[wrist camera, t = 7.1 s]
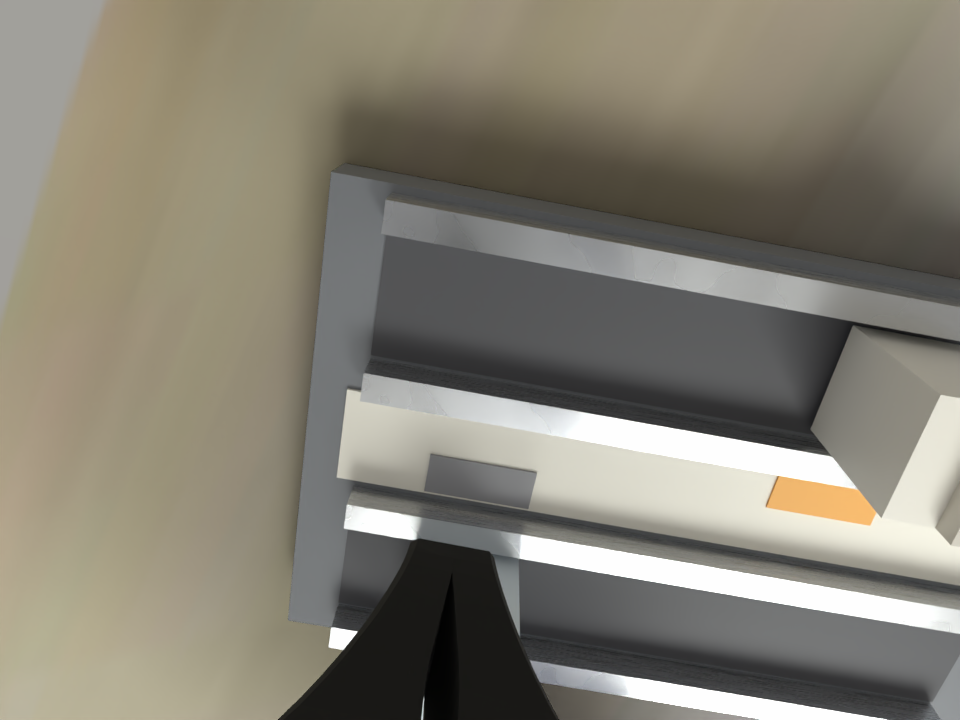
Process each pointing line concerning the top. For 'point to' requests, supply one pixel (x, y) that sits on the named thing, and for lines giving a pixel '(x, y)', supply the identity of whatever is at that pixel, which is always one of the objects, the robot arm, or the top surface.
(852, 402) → the tab
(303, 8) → the top surface
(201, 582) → the top surface
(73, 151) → the top surface
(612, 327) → the switch panel
